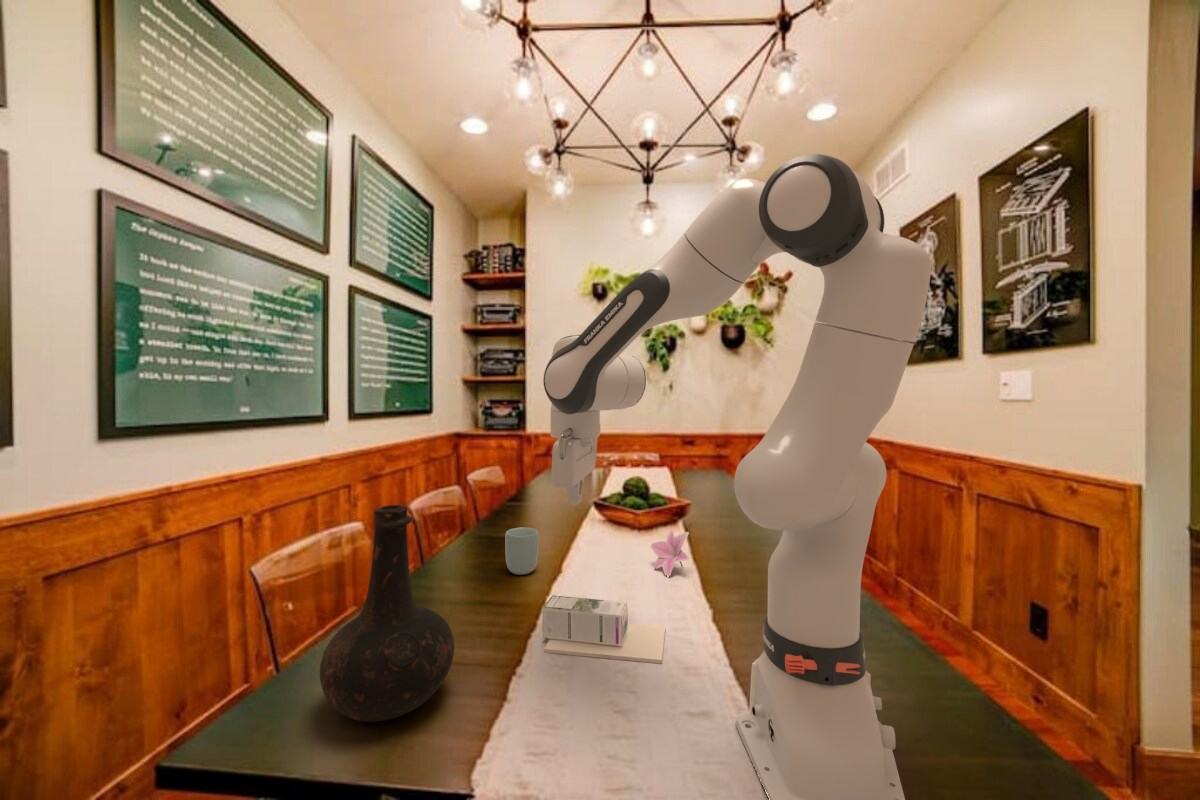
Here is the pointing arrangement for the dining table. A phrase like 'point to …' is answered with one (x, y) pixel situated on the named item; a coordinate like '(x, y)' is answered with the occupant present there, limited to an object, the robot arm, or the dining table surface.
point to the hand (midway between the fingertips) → (575, 503)
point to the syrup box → (585, 620)
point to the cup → (521, 550)
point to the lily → (669, 552)
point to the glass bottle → (387, 637)
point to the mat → (636, 646)
